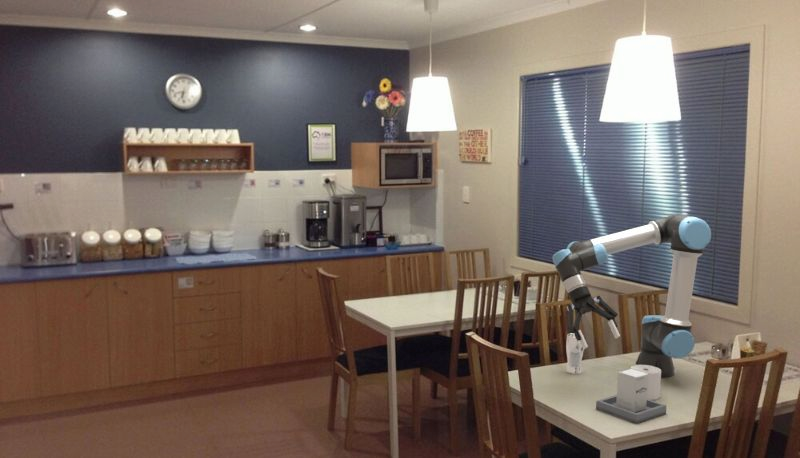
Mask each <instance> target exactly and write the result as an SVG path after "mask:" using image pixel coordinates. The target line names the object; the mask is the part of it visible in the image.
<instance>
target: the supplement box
mask: <svg viewBox="0 0 800 458" xmlns="http://www.w3.org/2000/svg"><path fill="white" fill-rule="evenodd" d="M647 388H648V374H647V373H644V372H640V371H637V370H633V369H631V368H630V369H629V368H628V369H626V370H622V371H618V372H617V387H616V395H617V401H616V406H617V407H620V408H623V409H625V410H628V411H631V412H634V413H635V412H638V411H641V410H645V409H646V404H647Z"/></svg>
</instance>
